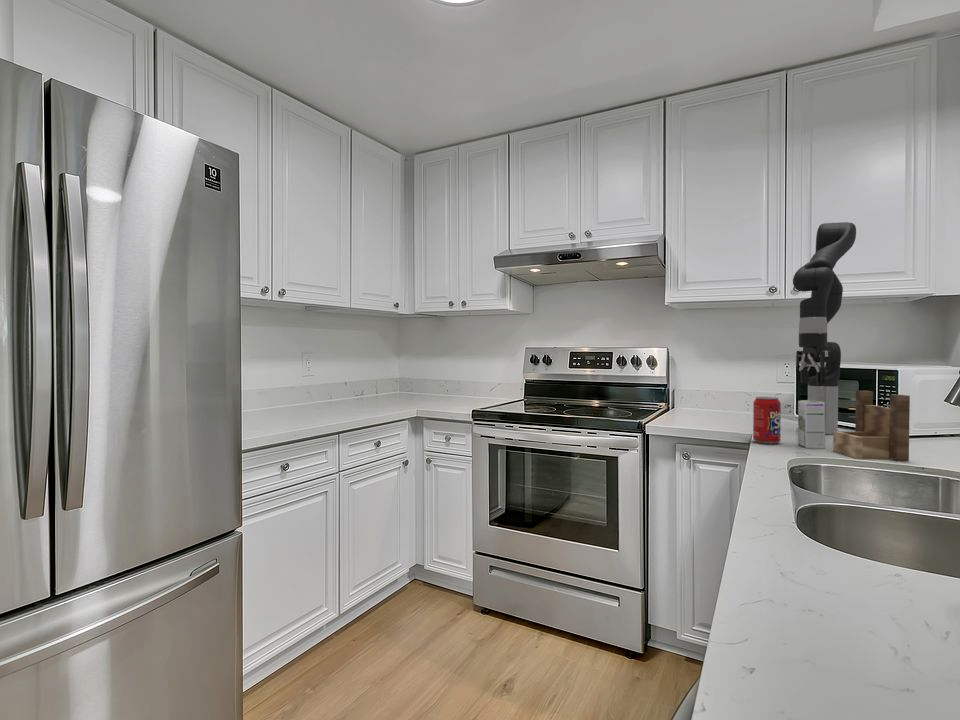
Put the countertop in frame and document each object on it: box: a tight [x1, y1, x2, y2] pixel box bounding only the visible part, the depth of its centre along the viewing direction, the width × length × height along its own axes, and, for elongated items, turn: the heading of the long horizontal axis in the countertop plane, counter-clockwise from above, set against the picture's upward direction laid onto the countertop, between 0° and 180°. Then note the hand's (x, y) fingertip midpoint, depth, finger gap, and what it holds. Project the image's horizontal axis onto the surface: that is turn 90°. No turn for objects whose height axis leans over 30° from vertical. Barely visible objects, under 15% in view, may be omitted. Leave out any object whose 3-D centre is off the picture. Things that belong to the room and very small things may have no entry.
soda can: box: [752, 396, 782, 445], centre depth 168 cm, size 8×8×15 cm
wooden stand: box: [832, 390, 911, 462], centre depth 148 cm, size 17×12×18 cm
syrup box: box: [797, 399, 826, 450], centre depth 160 cm, size 6×6×14 cm
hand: (812, 383), depth 160 cm, fingers open, 8 cm apart
